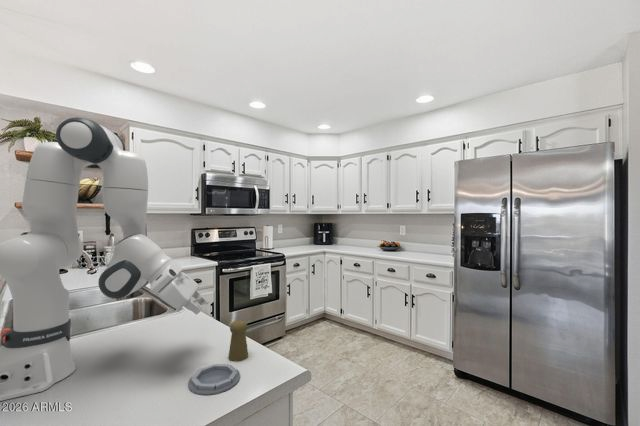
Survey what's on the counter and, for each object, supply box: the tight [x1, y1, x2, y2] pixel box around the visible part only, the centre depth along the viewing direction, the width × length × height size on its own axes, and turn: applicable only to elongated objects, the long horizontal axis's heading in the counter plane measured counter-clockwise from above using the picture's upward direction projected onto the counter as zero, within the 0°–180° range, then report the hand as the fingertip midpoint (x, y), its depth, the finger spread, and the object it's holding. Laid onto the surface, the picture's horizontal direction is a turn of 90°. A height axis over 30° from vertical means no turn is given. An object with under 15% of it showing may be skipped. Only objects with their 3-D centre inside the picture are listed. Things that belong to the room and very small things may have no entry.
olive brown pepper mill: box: [227, 319, 249, 363], centre depth 92 cm, size 6×6×11 cm
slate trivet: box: [187, 363, 241, 396], centre depth 79 cm, size 13×13×2 cm
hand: (201, 307), depth 90 cm, fingers open, 8 cm apart
